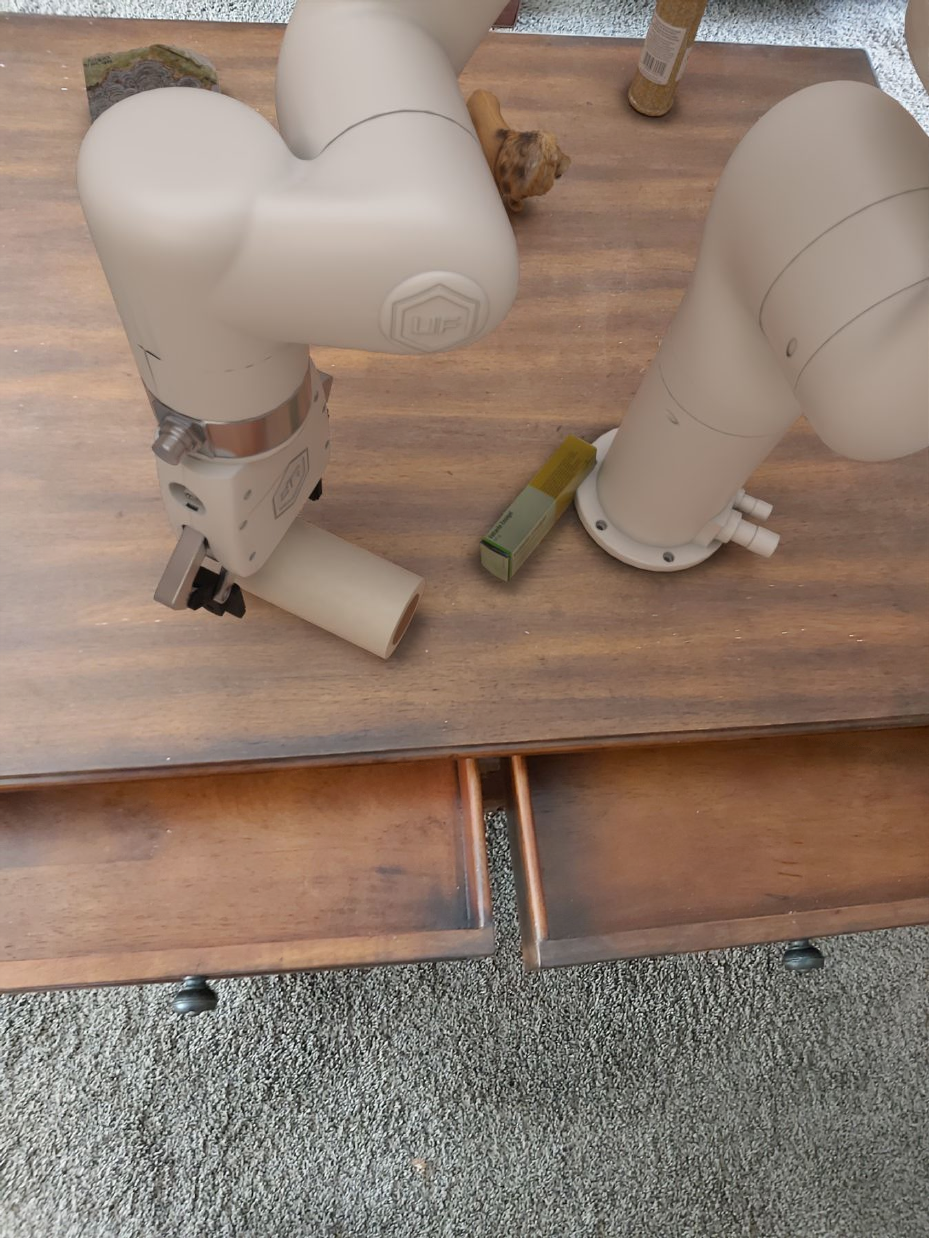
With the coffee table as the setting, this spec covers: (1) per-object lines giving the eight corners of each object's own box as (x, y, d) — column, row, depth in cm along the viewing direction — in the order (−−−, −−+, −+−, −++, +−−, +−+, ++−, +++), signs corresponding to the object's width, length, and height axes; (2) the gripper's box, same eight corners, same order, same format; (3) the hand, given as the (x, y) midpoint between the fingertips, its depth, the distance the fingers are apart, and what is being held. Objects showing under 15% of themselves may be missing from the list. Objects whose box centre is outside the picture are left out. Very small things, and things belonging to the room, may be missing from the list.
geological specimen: (97, 177, 64) (72, 34, 68) (120, 236, 70) (96, 101, 74) (238, 160, 66) (205, 22, 70) (249, 219, 71) (218, 89, 76)
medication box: (508, 589, 61) (507, 560, 58) (478, 571, 62) (476, 542, 58) (594, 478, 65) (599, 445, 62) (565, 462, 66) (568, 429, 63)
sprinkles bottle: (680, 109, 82) (737, -41, 69) (644, 124, 80) (696, -27, 68) (652, 80, 83) (703, -73, 70) (616, 93, 81) (662, -60, 69)
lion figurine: (561, 232, 74) (586, 141, 66) (513, 254, 72) (533, 164, 64) (467, 126, 77) (479, 27, 69) (419, 145, 76) (426, 46, 68)
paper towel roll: (429, 564, 54) (264, 485, 55) (387, 641, 52) (215, 557, 52) (423, 600, 59) (273, 527, 60) (384, 671, 57) (229, 594, 58)
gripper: (198, 560, 35) (243, 682, 51) (386, 290, 42) (374, 471, 58) (44, 484, 36) (135, 627, 51) (255, 228, 42) (279, 424, 58)
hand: (262, 544), depth 54 cm, fingers open, 9 cm apart
